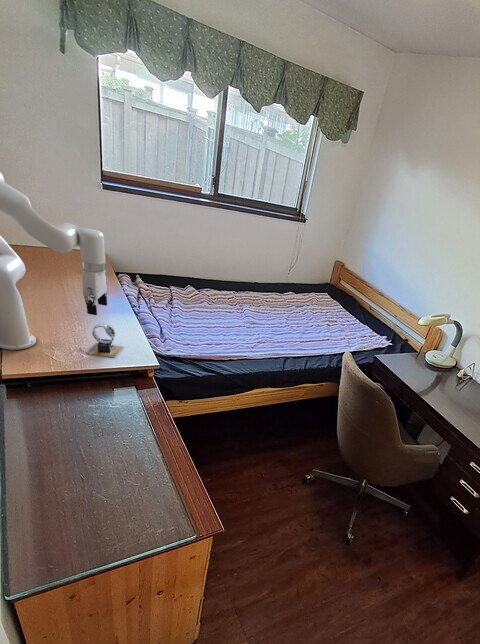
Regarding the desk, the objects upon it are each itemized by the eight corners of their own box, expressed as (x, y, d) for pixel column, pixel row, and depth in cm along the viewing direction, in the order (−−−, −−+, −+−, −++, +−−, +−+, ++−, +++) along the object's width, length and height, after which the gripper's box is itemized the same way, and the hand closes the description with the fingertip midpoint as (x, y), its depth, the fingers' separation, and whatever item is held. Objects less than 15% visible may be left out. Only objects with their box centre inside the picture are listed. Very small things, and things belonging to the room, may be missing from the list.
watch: (115, 353, 157) (113, 329, 151) (93, 351, 154) (90, 327, 148) (117, 346, 161) (115, 322, 155) (96, 345, 159) (93, 320, 152)
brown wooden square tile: (87, 354, 153) (87, 353, 153) (96, 343, 160) (96, 343, 160) (113, 357, 155) (113, 357, 154) (121, 347, 162) (121, 346, 162)
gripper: (92, 257, 145) (96, 299, 154) (71, 270, 131) (76, 316, 140) (114, 261, 146) (116, 303, 156) (95, 275, 132) (98, 320, 142)
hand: (97, 309), depth 148 cm, fingers open, 9 cm apart
